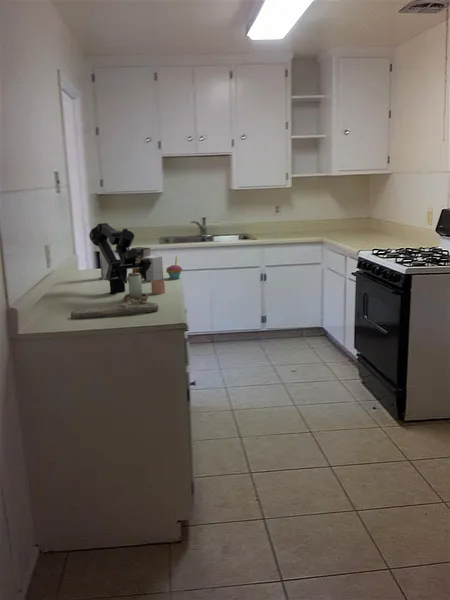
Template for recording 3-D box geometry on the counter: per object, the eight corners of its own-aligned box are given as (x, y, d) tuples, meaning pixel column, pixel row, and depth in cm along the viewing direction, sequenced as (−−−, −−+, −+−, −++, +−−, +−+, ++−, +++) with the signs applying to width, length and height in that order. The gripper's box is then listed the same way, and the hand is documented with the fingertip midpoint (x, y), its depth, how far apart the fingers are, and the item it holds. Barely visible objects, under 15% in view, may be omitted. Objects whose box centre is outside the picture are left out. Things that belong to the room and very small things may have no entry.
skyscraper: (98, 277, 316) (94, 227, 310) (113, 276, 319) (109, 226, 314) (101, 280, 309) (97, 228, 303) (116, 278, 312) (112, 227, 306)
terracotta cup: (151, 295, 264) (151, 282, 263) (152, 292, 270) (151, 280, 269) (164, 294, 265) (164, 281, 263) (165, 292, 270) (164, 279, 269)
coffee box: (132, 277, 314) (130, 248, 311) (139, 275, 319) (137, 247, 316) (144, 278, 309) (142, 249, 306) (152, 276, 315) (150, 247, 311)
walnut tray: (123, 302, 250) (123, 298, 250) (126, 298, 260) (125, 294, 260) (146, 301, 251) (146, 297, 251) (148, 297, 261) (147, 293, 260)
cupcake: (175, 276, 313) (174, 254, 310) (185, 277, 307) (184, 255, 304) (163, 278, 307) (162, 256, 304) (173, 280, 301) (172, 257, 298)
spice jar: (128, 299, 253) (126, 274, 251) (131, 296, 258) (129, 272, 256) (140, 299, 252) (139, 274, 250) (143, 296, 258) (141, 272, 255)
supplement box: (154, 278, 309) (152, 255, 307) (163, 279, 305) (162, 255, 302) (144, 280, 304) (142, 256, 301) (153, 281, 299) (152, 257, 296)
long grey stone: (71, 319, 231) (71, 326, 222) (69, 306, 230) (69, 313, 221) (157, 306, 239) (160, 313, 230) (155, 294, 238) (159, 300, 229)
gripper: (108, 244, 249) (120, 272, 242) (148, 241, 258) (160, 267, 251) (103, 260, 257) (114, 288, 250) (142, 256, 266) (153, 283, 260)
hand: (136, 281), depth 253 cm, fingers open, 9 cm apart
